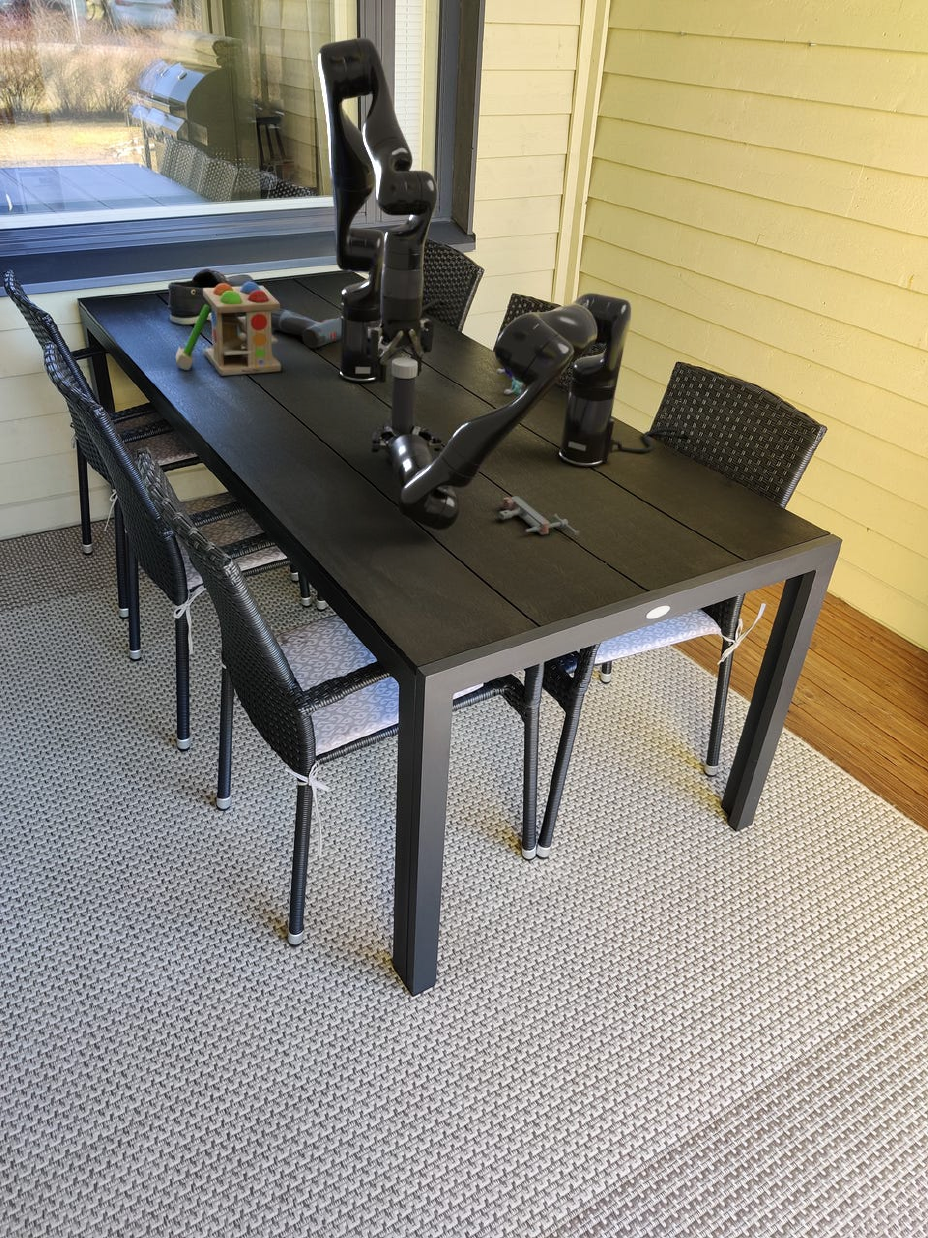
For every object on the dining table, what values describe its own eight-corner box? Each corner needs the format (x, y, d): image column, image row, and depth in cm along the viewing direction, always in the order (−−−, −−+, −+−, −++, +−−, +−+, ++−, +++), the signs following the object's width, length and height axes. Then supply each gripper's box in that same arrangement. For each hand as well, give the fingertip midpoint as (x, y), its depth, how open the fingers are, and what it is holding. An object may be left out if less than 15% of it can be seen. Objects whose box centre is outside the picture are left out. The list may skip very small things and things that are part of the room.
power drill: (305, 316, 264) (364, 334, 256) (257, 332, 251) (318, 351, 243) (305, 296, 261) (365, 314, 253) (257, 311, 248) (318, 330, 240)
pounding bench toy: (183, 379, 220) (176, 299, 210) (169, 357, 231) (162, 280, 221) (282, 371, 230) (280, 294, 220) (264, 350, 240) (262, 276, 230)
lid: (422, 375, 186) (423, 363, 184) (401, 380, 183) (402, 368, 181) (406, 367, 188) (407, 355, 187) (386, 372, 186) (386, 359, 184)
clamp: (489, 500, 180) (534, 491, 184) (488, 510, 181) (533, 501, 185) (534, 538, 169) (581, 528, 174) (532, 549, 170) (579, 539, 175)
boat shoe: (275, 303, 273) (273, 264, 267) (188, 326, 249) (184, 284, 244) (241, 294, 279) (238, 256, 273) (152, 317, 255) (147, 276, 249)
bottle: (387, 456, 197) (391, 361, 186) (408, 455, 198) (413, 361, 187) (391, 465, 194) (396, 369, 182) (412, 464, 195) (417, 369, 184)
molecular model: (542, 396, 221) (528, 352, 219) (504, 410, 224) (490, 367, 223) (554, 394, 231) (541, 353, 230) (517, 407, 235) (504, 367, 233)
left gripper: (421, 280, 183) (416, 365, 192) (356, 288, 175) (354, 377, 184) (446, 291, 178) (439, 378, 187) (380, 301, 170) (377, 391, 180)
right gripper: (452, 443, 180) (435, 406, 194) (375, 443, 177) (363, 406, 191) (449, 479, 184) (433, 441, 198) (374, 481, 181) (362, 442, 195)
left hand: (397, 377), depth 186 cm, fingers open, 7 cm apart
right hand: (399, 424), depth 194 cm, fingers closed on bottle, 4 cm apart
